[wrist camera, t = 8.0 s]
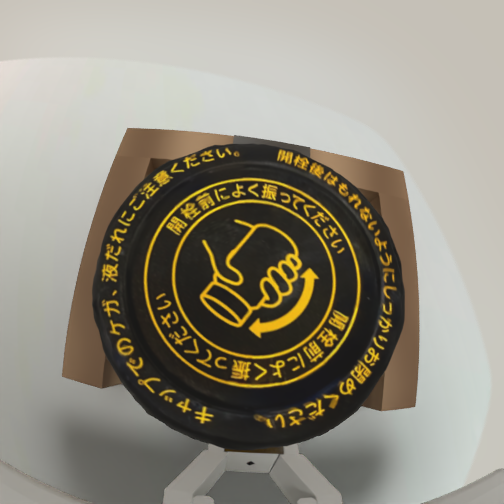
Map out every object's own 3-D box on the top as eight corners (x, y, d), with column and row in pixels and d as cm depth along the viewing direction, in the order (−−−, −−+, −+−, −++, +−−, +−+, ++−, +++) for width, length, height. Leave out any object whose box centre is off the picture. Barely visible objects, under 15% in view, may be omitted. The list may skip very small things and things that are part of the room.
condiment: (168, 272, 16) (94, 105, 5) (317, 275, 17) (454, 143, 6) (164, 405, 14) (48, 496, 2) (322, 402, 15) (500, 444, 3)
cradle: (95, 373, 14) (58, 376, 10) (140, 168, 18) (126, 124, 14) (375, 399, 15) (418, 407, 11) (374, 202, 19) (405, 168, 15)
